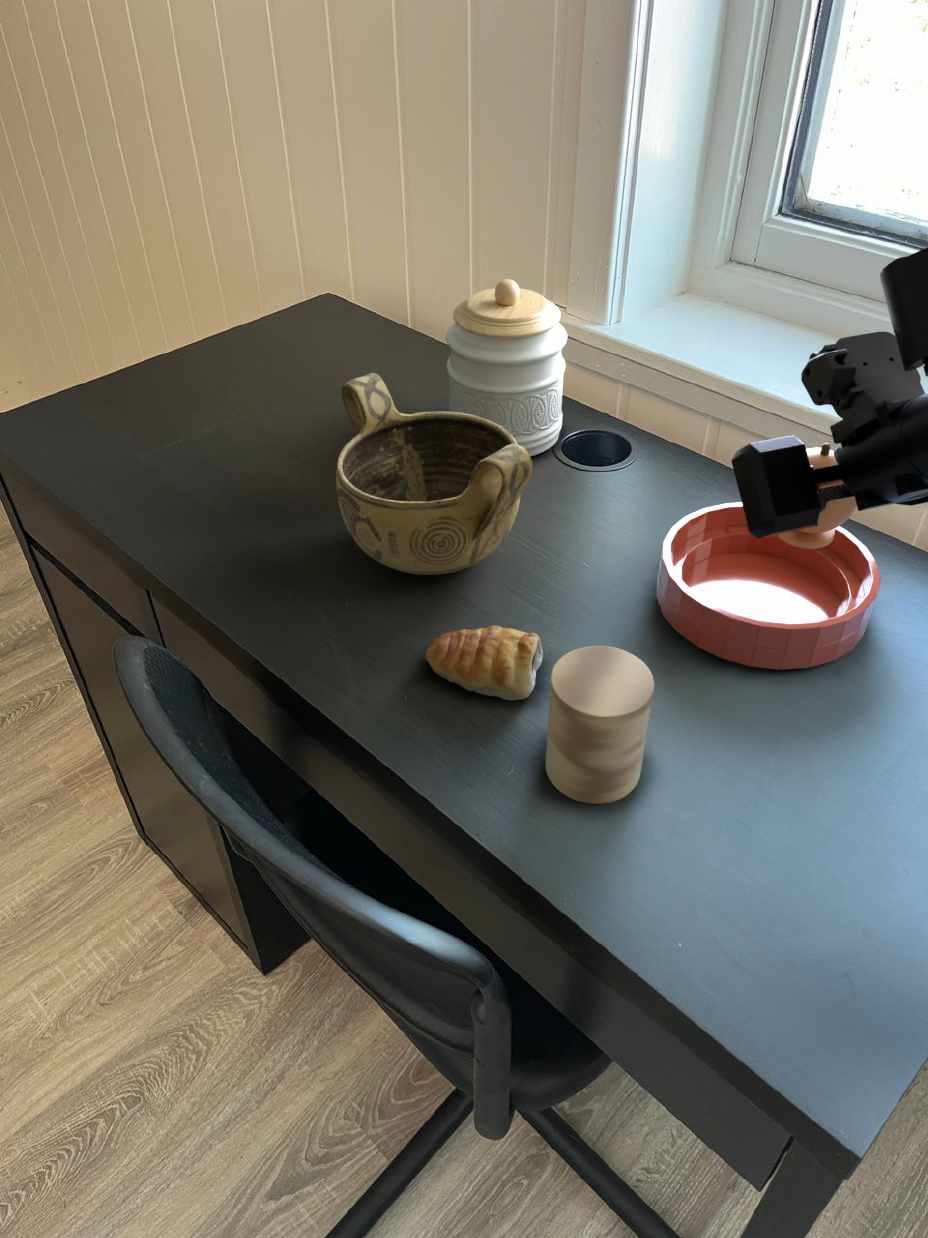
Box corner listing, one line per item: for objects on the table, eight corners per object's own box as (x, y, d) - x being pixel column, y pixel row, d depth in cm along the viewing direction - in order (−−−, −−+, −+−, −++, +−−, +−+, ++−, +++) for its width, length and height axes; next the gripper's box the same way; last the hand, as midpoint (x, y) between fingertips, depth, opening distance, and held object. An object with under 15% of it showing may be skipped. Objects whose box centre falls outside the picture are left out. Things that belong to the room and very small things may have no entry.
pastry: (418, 690, 77) (416, 655, 74) (437, 637, 82) (436, 602, 79) (532, 707, 75) (534, 671, 73) (545, 651, 80) (547, 616, 78)
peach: (865, 541, 72) (893, 452, 67) (801, 565, 70) (825, 475, 65) (806, 501, 77) (828, 415, 72) (744, 523, 75) (762, 435, 70)
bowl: (877, 574, 87) (892, 529, 84) (847, 700, 75) (863, 653, 72) (686, 528, 93) (693, 485, 90) (629, 637, 81) (635, 592, 78)
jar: (489, 396, 115) (490, 249, 104) (582, 425, 109) (593, 273, 98) (425, 441, 107) (418, 287, 96) (522, 474, 101) (526, 315, 90)
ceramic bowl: (578, 567, 89) (589, 424, 79) (442, 650, 80) (436, 501, 71) (426, 475, 102) (419, 342, 92) (294, 538, 93) (271, 399, 83)
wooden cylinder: (652, 749, 71) (666, 662, 66) (622, 817, 67) (636, 729, 61) (565, 721, 74) (572, 634, 68) (531, 784, 69) (535, 697, 63)
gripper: (1031, 292, 60) (877, 379, 76) (774, 333, 56) (666, 416, 71) (1077, 459, 60) (913, 513, 75) (821, 513, 56) (702, 559, 71)
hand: (801, 497), depth 73 cm, fingers closed on peach, 6 cm apart
